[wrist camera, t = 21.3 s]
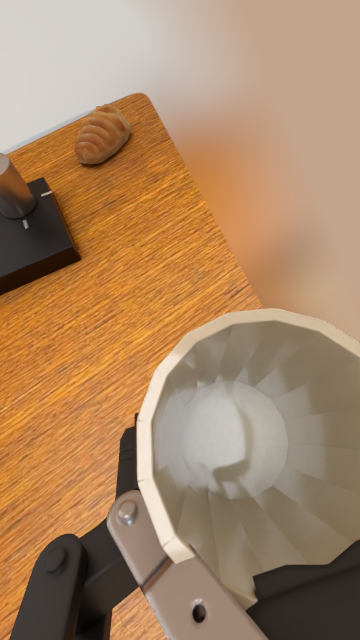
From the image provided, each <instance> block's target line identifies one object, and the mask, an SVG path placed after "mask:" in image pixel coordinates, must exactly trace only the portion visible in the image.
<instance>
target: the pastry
mask: <svg viewBox="0 0 360 640" xmlns="http://www.w3.org/2000/svg"><path fill="white" fill-rule="evenodd" d="M130 132H131V126H130V124H129V123H128V122H127V120H126V118H125V117H124V116H123V115H122V114H121V112H120V111H119V110H118V109H117V108H116V107H114V106H112V105H108V104H105V105H103V106H97V107H96V110H94V112H93V113H92V114H91V115H90V116H89V117H87V118H86V119H85V120H84V121H83V122H82V124H81V128H80V131H79V133H78V137H77V139H76V144H75V145H76V146H75V152H76V154H77V156H78V160H79V162H80V163H85V164H98V163H102V162H103V161H106V159H107V158H109V157H110V156H113V155H114V154H115V153H116V152H117V151H118V150H120V148H121V147H122V146H123V144H124V143H126V142H127V140H128V138H129V135H130Z"/></svg>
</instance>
